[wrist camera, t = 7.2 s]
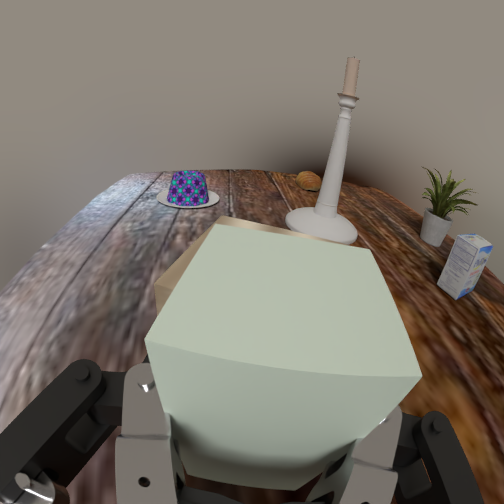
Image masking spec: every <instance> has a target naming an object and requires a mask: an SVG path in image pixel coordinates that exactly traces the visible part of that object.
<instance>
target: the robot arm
mask: <svg viewBox="0 0 504 504" xmlns="http://www.w3.org/2000/svg"><path fill="white" fill-rule="evenodd" d="M117 426H122V431H121V434H120V435H119V436H118V437H117V439H116V444H115V474H116V495H117V504H244V503H241V502H238V501H236V500H233V499H230V498H228V497H225V496H223V495H221V494H218V493H213V492H208V491H203V490H199V489H195V488H191V487H187V486H186V482H185V476H184V471H183V466H182V461H181V454H180V446H179V442H178V440H176V439H173V430H172V420H171V417H170V413H166V412H164V410H163V407H162V404H161V400H160V397H159V394H158V390H157V387H156V383H155V380H154V376H153V372H152V369H151V365H150V361H149V357H148V354H147V356H146V357H145V359H144V361H143V362H142V363H141V364H138V365H135V366H133V367H132V368H131V369H130V370H129V371H127V372H108V371H101V369H100V367H99V366H98V365H97V364H96V363H95V362H93V361H91V360H87V359H81V360H77V361H75V362H73V363H71V364H70V365H69V366H68V367H67V368H66V369H65V370H64V371H63V372H62V373H61V374H60V375H58V376H57V377H56V378H55V379H54V380H53V381H52V382H51V383H50V384H49V385H48V386H47V387H46V388H45V389H44V390H43V391H42V392H41V393H40V394H39V395H38V396H37V397H36V398H35V399H34V400H33V401H32V402H31V403H30V404H29V405H28V406H27V407H26V408H25V409H24V410H23V411H22V412H21V413H20V414H19V415H18V416H17V417H16V418H15V419H14V420H13V421H12V422H11V423H10V424H9V425H8V427H7V428H6V429H5V430H4V431H3V432H2V433H1V434H0V502H2V503H3V504H70V497H69V494H68V491H67V490H66V487H67V486H68V485H69V484H70V482H71V481H72V480H73V479H74V478H75V476H76V475H77V474H78V473H79V472H80V471H81V469H82V468H83V467H84V466H85V465H86V463H87V462H88V461H89V460H90V459H91V457H92V456H93V455H94V454H95V453H96V451H97V450H98V449H99V448H100V446H101V445H102V444H103V443H104V442H105V440H106V439H107V438H108V437H109V436H110V434H111V433H112V432H113V431H114V430H115V428H116V427H117ZM421 458H422V459H423V462H424V464H425V467H426V469H427V472H428V474H429V477H430V480H431V483H432V484H431V483H430V481H429V478H428V476H427V473H426V470H425V468H424V465H423V463H422V460H421ZM393 494H395V497H396V500H397V503H398V504H484V502H483V499H482V496H481V493H480V491H479V488H478V485H477V483H476V480H475V477H474V475H473V472H472V470H471V467H470V465H469V463H468V460H467V458H466V456H465V453H464V451H463V449H462V447H461V445H460V442H459V440H458V438H457V436H456V434H455V432H454V430H453V428H452V426H451V424H450V422H449V420H448V418H447V417H446V416H445V415H444V414H442V413H441V412H438V411H431V412H429V413H427V414H426V415H425V416H424V417H423V418H421V417H417V416H413V415H409V414H406V413H403V412H402V411H401V409H400V407H399V405H397V406H396V407H395V408H394V409H393V410H392V411H391V412H390V413H389V414H388V415H387V417H386V418H385V419H384V420H383V421H382V422H380V423H379V424H378V425H377V426H376V427H375V428H374V429H373V430H372V431H371V432H370V433H369V434H368V435H367V436H366V437H365V438H357V439H356V440H355V441H354V442H352V443H351V444H350V447H349V450H348V452H347V453H346V454H345V455H344V456H342V457H341V458H340V459H339V460H337V461H330V462H329V463H328V464H326V466H325V469H324V471H323V473H322V475H321V477H320V479H319V481H318V482H317V484H316V485H315V486H314V487H313V489H312V490H311V492H310V494H309V495H308V497H307V499H306V501H305V502H288V503H282V504H390V503H391V500H392V497H393Z"/></svg>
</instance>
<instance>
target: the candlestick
mask: <svg viewBox="0 0 504 504" xmlns="http://www.w3.org/2000/svg"><path fill="white" fill-rule="evenodd" d="M359 63H360V60H358V59H357V58H355V57H354V58H353V57H348V58H347V65H346V73H345V79H344V86H343V93H338V95H339V97H340V101H339V105H340V106H341V108H340V109H341V113H340V115H339V116H338V122H337V126H336V130H335V135H334V139H333V143H332V147H331V151H330V155H329V159H328V163H327V167H326V171H325V175H324V178H323V182H322V186H321V189H320V193H319V197H318V199H317V203H316V206H315V208H313V207H306V208H299V209H295V210H293V211H291V212H289V213H288V214H287V215H286V219H285V222H286V225H287V226H288V227H289V228H290V229H291V230H292V231H295V232H299V233H303V234H307V235H311V236H316V237H320V238H324V239H328V240H332V241H336V242H340V243H344V244H351V243H353V242H354V241H355V240H356V238H357V231H356V229H355V227H354V226H353V225H352V224H351V223H350V222H349V221H348V220H347V219H346V218H344V217H342V216H341V215H339V214H337V205H338V199H339V193H340V187H341V182H342V176H343V169H344V163H345V157H346V150H347V144H348V137H349V129H350V121H351V117H350V114H351V112H352V109H353V108H355V102H356V101H357V100H359V98H357V97H355V91H356V84H357V78H358V70H359Z"/></svg>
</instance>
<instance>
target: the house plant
mask: <svg viewBox="0 0 504 504" xmlns="http://www.w3.org/2000/svg"><path fill="white" fill-rule="evenodd" d="M427 170H428V169H427ZM435 170H436V169H435ZM428 171H429V170H428ZM436 171H437V170H436ZM437 172H438V171H437ZM429 173H430V175H431V176H432V179H433V182H434V185H435V188H434V186H433V188H434V192H435V195H434V193H433V191H432V190H431V189H429V188H426V190H427V191H428V192H429V193H430V194H431V199H432V200H430V199H429V200H430V201H431V202H432V204H433V209H431V208H425V213H424V218H423V224H422V229H421V234H420V238H421V239H422V240H423V241H425V242H426V243H428V244H430V245H433V246H440V244H441V243H442V241H443V239H444V238H445V236H446V234H447V232H448V230H449V228H450V227H451V225H452V223H453V220H452V219H451V218H450V217H448V216H447V213H448V212H450V211H453V212H454V211H455V210H459V211H462V212H464V213H465V211H466V210H465V209H464V208H462V207H460V206H456V207H454V206H455V205H457V204H460V203H461V204H473V205H477V204H474V203H472V202H470V201H467V200H462V199H455V198H456V197H457V196H459V195H461V194H463V193H464V192H466V191H467V190H471V189H465V190H462V191H460V192H459V193H457V194H455V195H453V196H452V197H449V195H450V194H451V193H452V191H453V190H454V189H455V188H456V186H458V185H459V184H460V183H461V182H463V181H464V180H465V179H464V180H461V181H459V182H457V183H456V182H455V181H454V179H451V180H450V177H451V171H450V172H449V175H448V178H447V181H446V184H444V185H443V189H442V193H441V185H440V181H439V178H438V177H437V175H436V174H435V176H436V179H435V177H434V175H433V173H432V172H431V171H429ZM438 173H439V172H438ZM428 175H429V174H428ZM440 177H441V175H440ZM430 179H431V178H430ZM431 182H432V180H431ZM433 182H432V185H433ZM441 183H442V178H441ZM455 183H456V184H455ZM466 194H467V193H466ZM422 195H428V196H430V195H429V194H428V193H426V192H424V193H423V194H422ZM423 198H426V197H423ZM448 198H449V199H448ZM427 199H428V198H427ZM447 199H448V200H447ZM454 199H455V200H454ZM457 207H459V208H462V209H464V210H465V211H463V210H461V209H455V208H457ZM449 209H450V210H449ZM448 210H449V211H448ZM447 211H448V212H447ZM466 212H467V211H466Z"/></svg>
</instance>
